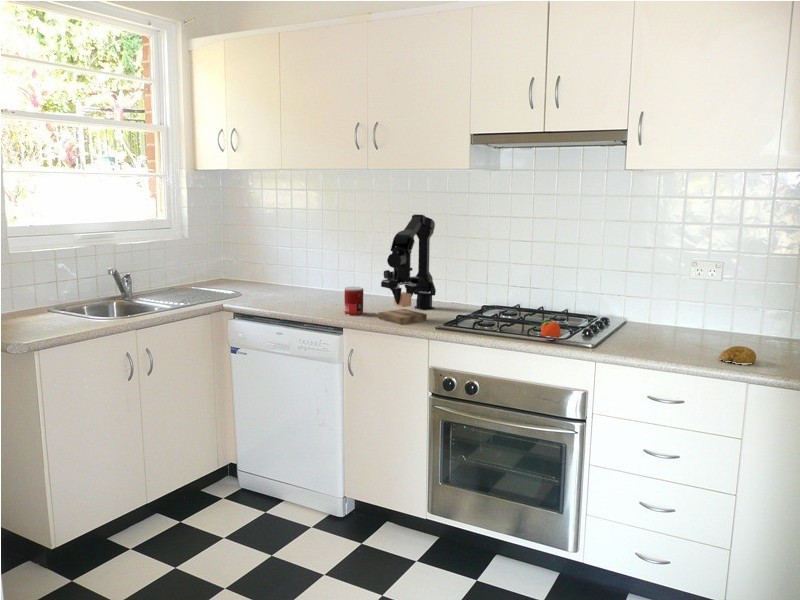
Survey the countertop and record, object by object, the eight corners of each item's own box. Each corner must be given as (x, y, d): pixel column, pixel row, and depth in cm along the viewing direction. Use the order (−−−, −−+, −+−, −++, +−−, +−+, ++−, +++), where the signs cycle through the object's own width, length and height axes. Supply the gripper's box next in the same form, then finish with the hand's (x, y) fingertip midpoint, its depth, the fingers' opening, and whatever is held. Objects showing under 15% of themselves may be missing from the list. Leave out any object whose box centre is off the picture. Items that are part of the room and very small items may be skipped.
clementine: (543, 343, 236) (544, 323, 235) (534, 338, 243) (535, 319, 241) (563, 342, 238) (565, 322, 237) (554, 337, 245) (555, 318, 244)
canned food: (360, 315, 278) (360, 289, 276) (342, 314, 280) (342, 288, 278) (365, 312, 286) (365, 287, 284) (347, 311, 287) (347, 286, 285)
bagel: (713, 357, 221) (714, 343, 221) (747, 358, 221) (749, 344, 220) (725, 365, 212) (726, 351, 211) (761, 367, 211) (763, 352, 210)
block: (403, 304, 275) (403, 292, 274) (411, 306, 272) (411, 293, 271) (393, 305, 272) (394, 293, 271) (401, 307, 268) (402, 295, 267)
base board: (404, 314, 282) (404, 308, 282) (426, 320, 272) (426, 314, 271) (378, 318, 273) (378, 312, 273) (400, 324, 263) (400, 318, 262)
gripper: (407, 261, 281) (407, 298, 284) (372, 264, 269) (372, 302, 272) (425, 264, 272) (424, 302, 275) (390, 267, 261) (389, 307, 263)
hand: (402, 303), depth 272 cm, fingers closed on block, 5 cm apart
